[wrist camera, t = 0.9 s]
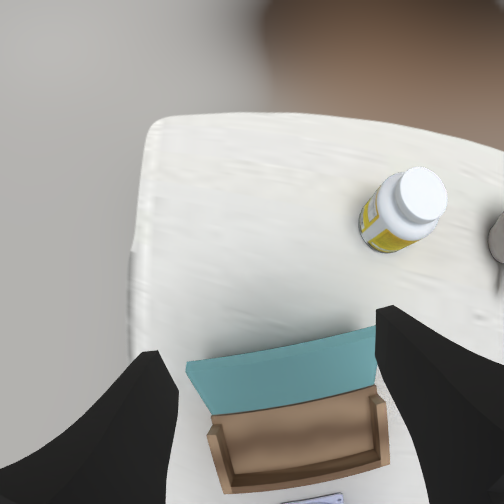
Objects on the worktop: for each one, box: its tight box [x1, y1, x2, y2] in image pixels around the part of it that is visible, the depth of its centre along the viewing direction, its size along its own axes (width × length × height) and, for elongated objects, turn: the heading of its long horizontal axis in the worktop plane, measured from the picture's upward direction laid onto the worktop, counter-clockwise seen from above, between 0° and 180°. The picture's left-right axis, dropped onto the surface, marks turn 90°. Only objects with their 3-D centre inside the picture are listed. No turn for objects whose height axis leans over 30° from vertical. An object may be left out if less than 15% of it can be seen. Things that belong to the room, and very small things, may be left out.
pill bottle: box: [359, 167, 448, 253], centre depth 27 cm, size 6×6×12 cm
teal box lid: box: [186, 325, 377, 415], centre depth 27 cm, size 1×17×8 cm
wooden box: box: [207, 384, 390, 494], centre depth 28 cm, size 9×18×5 cm, turn 101°
